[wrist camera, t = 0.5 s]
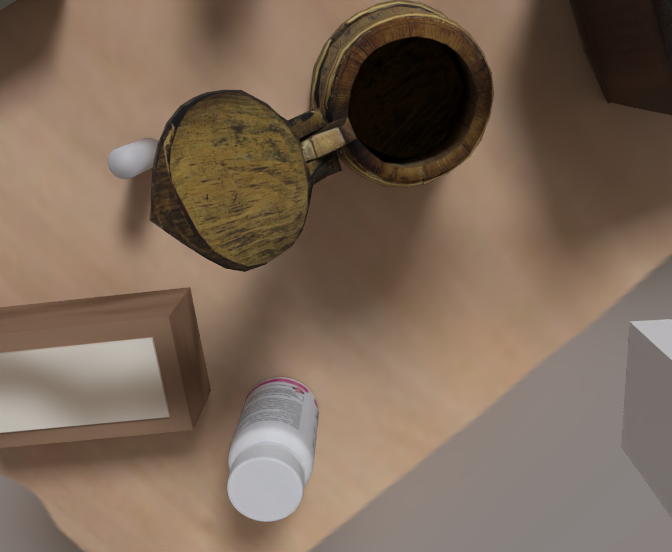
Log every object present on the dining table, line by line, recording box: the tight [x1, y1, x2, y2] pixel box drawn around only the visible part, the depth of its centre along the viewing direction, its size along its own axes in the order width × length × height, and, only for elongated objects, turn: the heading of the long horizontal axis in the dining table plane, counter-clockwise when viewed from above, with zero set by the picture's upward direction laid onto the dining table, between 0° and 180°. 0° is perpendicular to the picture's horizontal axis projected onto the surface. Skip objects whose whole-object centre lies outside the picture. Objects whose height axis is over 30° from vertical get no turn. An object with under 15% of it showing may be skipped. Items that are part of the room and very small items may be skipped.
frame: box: [0, 287, 211, 448], centre depth 38 cm, size 7×13×5 cm, turn 97°
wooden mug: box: [149, 0, 494, 272], centre depth 27 cm, size 9×14×18 cm, turn 110°
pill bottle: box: [227, 377, 319, 522], centre depth 37 cm, size 5×5×8 cm
